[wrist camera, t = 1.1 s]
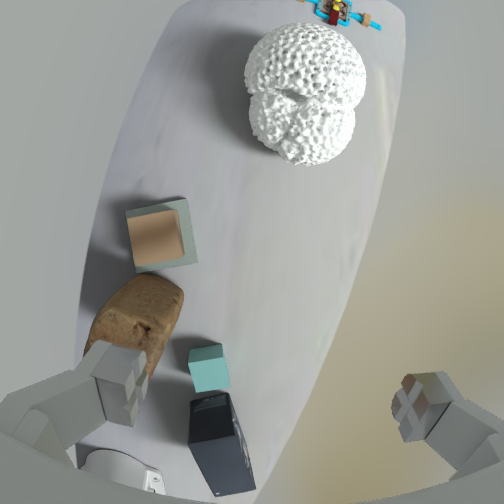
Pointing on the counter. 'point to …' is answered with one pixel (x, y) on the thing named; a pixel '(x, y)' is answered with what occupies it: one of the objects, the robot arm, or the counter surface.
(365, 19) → the gear mechanism
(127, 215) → the square tile
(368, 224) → the counter surface
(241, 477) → the small box
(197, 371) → the teal cube
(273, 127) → the white coral
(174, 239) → the walnut base block
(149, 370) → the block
